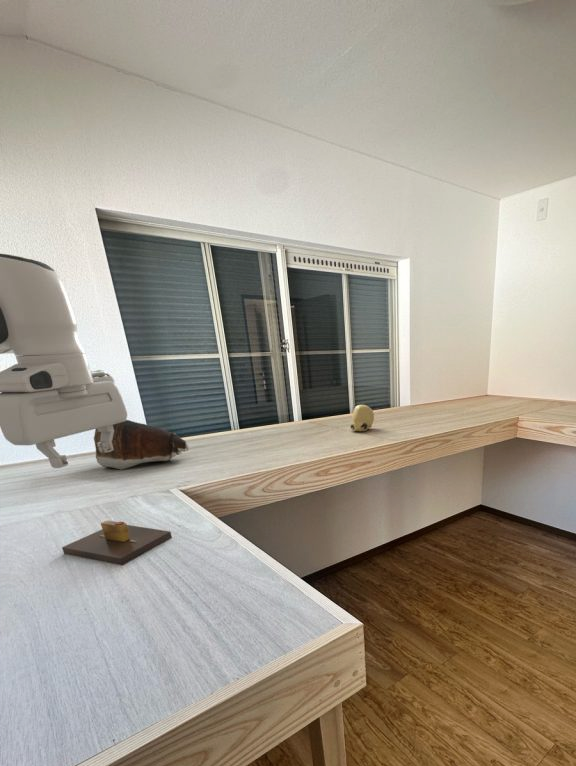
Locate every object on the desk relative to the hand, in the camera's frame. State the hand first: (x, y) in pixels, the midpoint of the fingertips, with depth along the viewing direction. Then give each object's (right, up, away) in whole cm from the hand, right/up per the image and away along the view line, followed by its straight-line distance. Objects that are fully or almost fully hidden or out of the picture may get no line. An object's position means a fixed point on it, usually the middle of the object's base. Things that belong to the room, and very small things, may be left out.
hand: (85, 458), depth 71 cm
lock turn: (+2, -14, +6) cm, 15 cm away
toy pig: (+42, +26, +107) cm, 118 cm away
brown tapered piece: (-26, +7, +64) cm, 70 cm away
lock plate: (+2, -17, +7) cm, 18 cm away
